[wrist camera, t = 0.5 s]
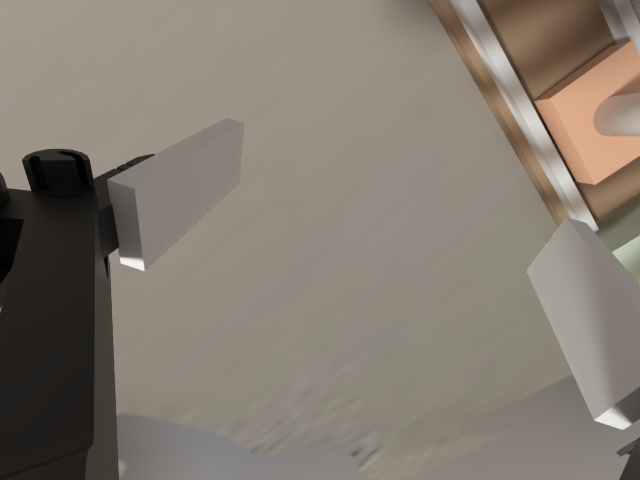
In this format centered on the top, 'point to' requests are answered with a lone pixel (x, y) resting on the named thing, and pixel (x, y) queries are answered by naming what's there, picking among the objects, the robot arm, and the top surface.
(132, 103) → the top surface
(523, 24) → the rail
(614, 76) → the carriage
